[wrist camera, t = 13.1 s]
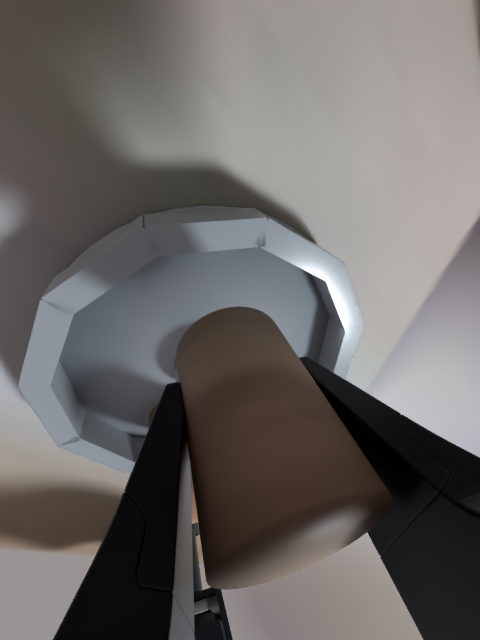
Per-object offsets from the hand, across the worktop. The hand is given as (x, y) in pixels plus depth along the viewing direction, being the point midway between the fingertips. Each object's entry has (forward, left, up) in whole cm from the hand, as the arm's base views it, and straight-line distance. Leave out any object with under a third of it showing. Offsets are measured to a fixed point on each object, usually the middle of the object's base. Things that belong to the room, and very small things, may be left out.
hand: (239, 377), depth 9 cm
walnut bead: (0, 0, -1) cm, 1 cm away
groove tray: (-5, 0, -7) cm, 9 cm away
